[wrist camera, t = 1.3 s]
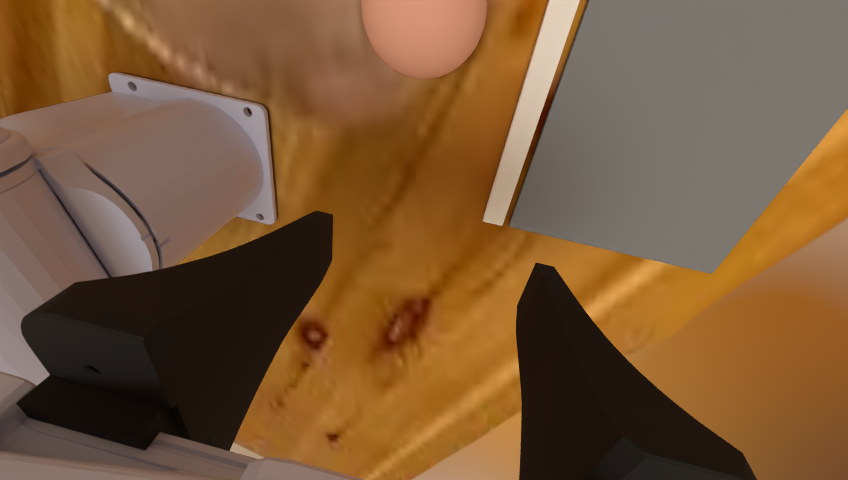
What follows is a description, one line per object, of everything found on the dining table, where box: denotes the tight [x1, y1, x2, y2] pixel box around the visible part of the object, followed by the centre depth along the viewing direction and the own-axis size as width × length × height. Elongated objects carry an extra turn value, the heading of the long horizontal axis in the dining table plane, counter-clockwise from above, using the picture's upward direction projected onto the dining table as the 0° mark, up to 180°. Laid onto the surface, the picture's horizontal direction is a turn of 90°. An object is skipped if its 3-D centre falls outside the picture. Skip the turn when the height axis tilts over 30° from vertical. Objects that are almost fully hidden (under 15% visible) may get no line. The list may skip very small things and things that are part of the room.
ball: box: [361, 0, 487, 79], centre depth 14 cm, size 5×5×5 cm
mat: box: [483, 0, 848, 274], centre depth 16 cm, size 14×20×1 cm
